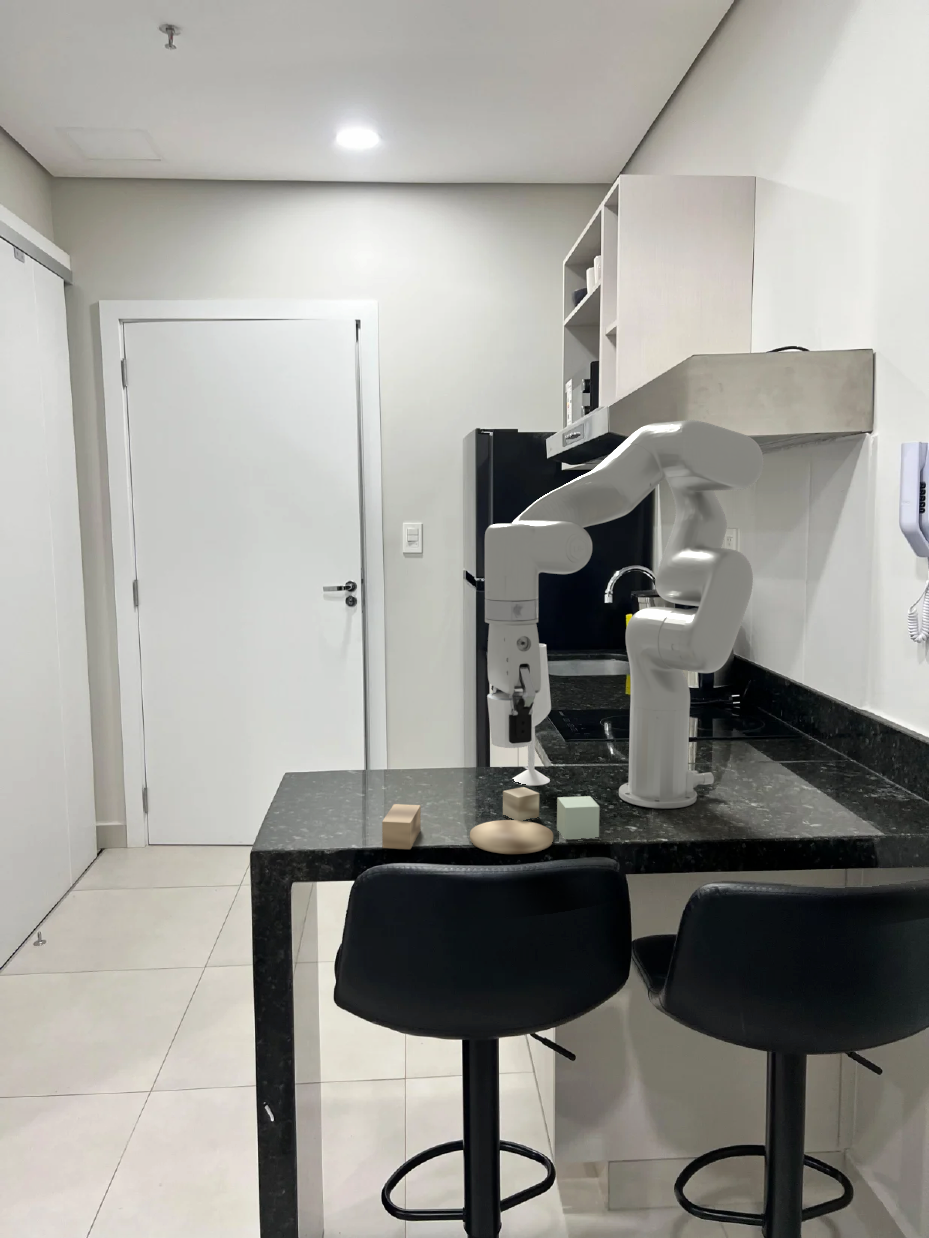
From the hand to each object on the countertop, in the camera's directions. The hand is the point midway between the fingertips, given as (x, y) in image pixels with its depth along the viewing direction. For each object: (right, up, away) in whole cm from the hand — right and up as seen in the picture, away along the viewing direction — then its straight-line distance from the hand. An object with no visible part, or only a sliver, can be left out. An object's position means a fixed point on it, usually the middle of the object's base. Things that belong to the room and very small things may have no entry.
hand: (511, 735), depth 134 cm
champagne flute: (+5, -12, +31) cm, 34 cm away
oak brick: (-16, -15, +2) cm, 22 cm away
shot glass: (0, -1, 0) cm, 1 cm away
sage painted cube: (+10, -15, +4) cm, 18 cm away
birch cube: (+2, -14, +12) cm, 18 cm away
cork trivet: (0, -15, +1) cm, 15 cm away
